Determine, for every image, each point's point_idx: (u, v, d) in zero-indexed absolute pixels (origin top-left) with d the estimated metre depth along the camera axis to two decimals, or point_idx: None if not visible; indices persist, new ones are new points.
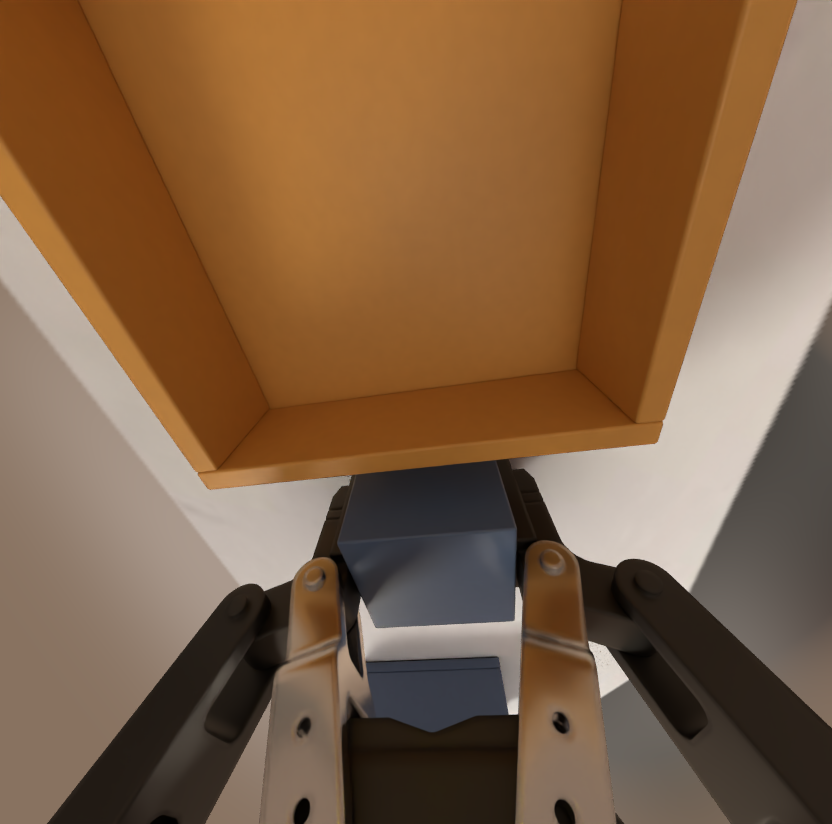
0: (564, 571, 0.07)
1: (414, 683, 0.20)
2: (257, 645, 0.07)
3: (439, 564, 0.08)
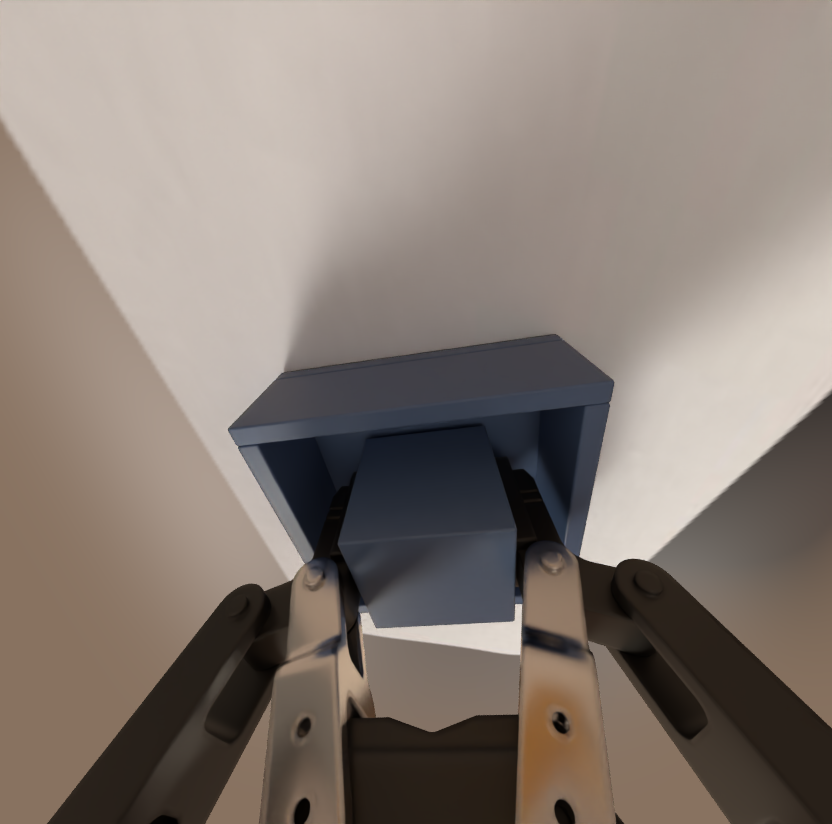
0: (564, 571, 0.07)
1: (381, 372, 0.09)
2: (257, 645, 0.07)
3: (439, 564, 0.08)
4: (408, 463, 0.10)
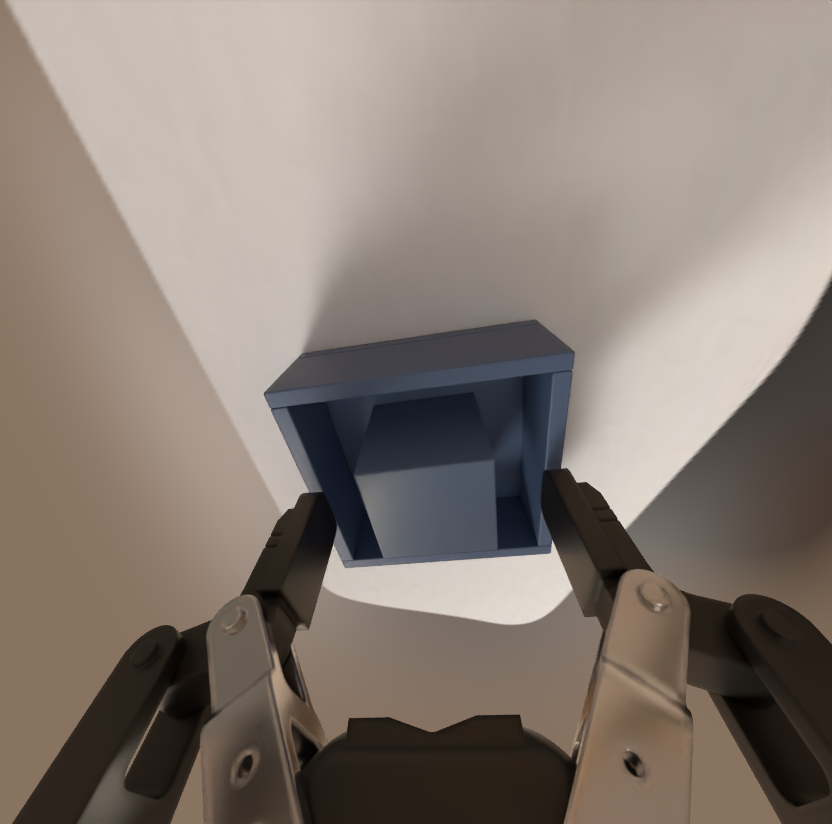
0: (671, 608, 0.06)
1: (388, 351, 0.11)
2: (177, 685, 0.07)
3: (434, 493, 0.10)
4: (410, 420, 0.12)
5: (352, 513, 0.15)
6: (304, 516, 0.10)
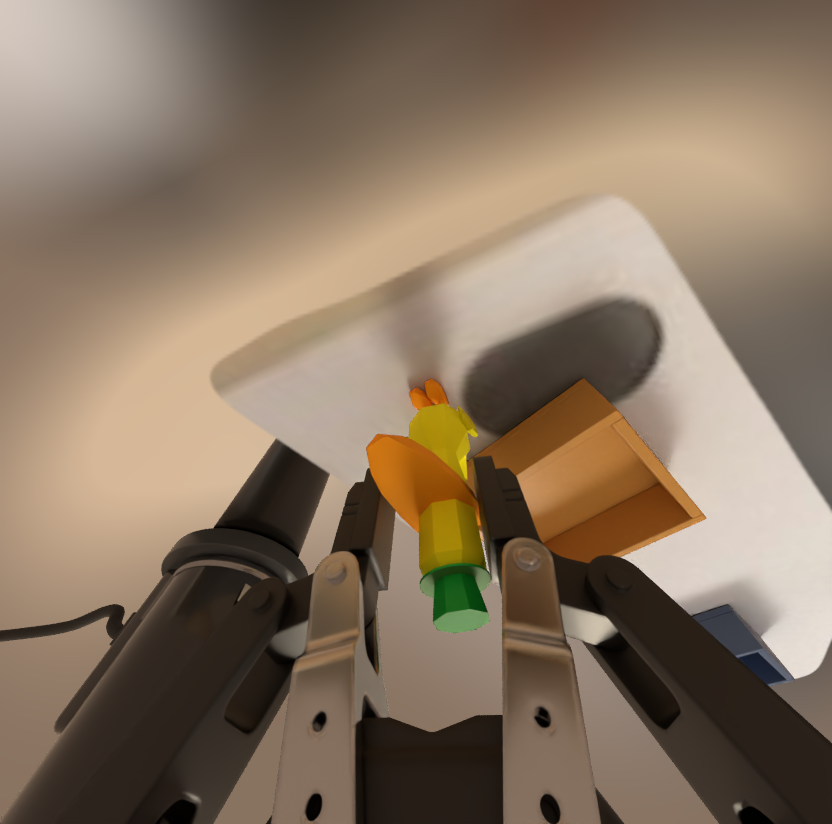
0: (538, 567, 0.07)
1: None
2: (277, 640, 0.07)
3: None
4: None
5: None
6: (376, 487, 0.11)
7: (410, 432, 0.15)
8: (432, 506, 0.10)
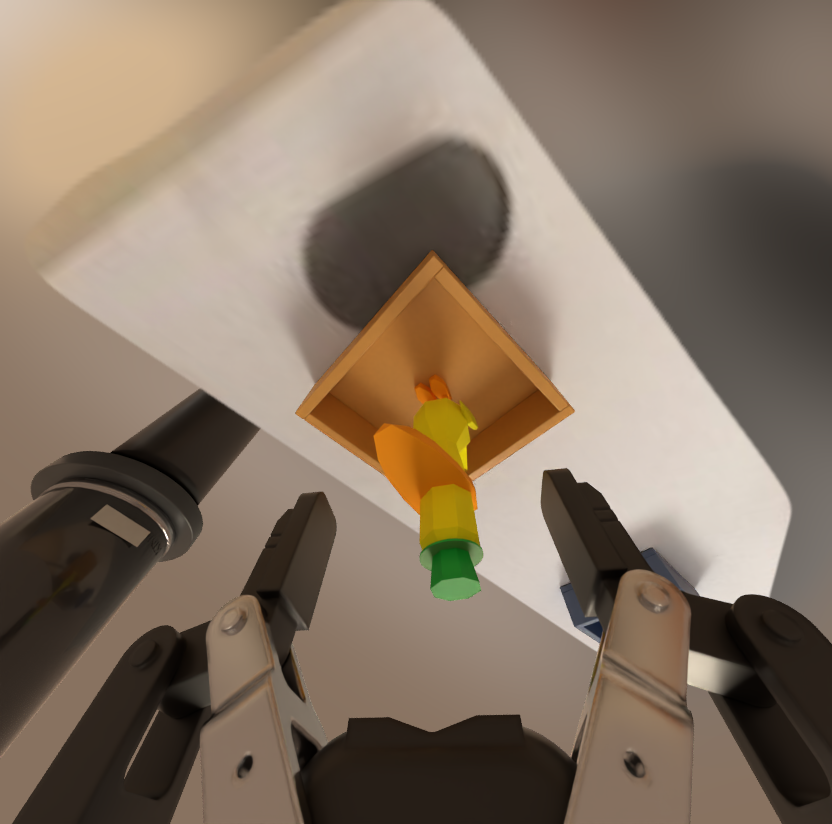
0: (672, 608, 0.06)
1: None
2: (176, 685, 0.07)
3: None
4: None
5: None
6: (304, 516, 0.10)
7: (414, 424, 0.16)
8: (432, 490, 0.11)
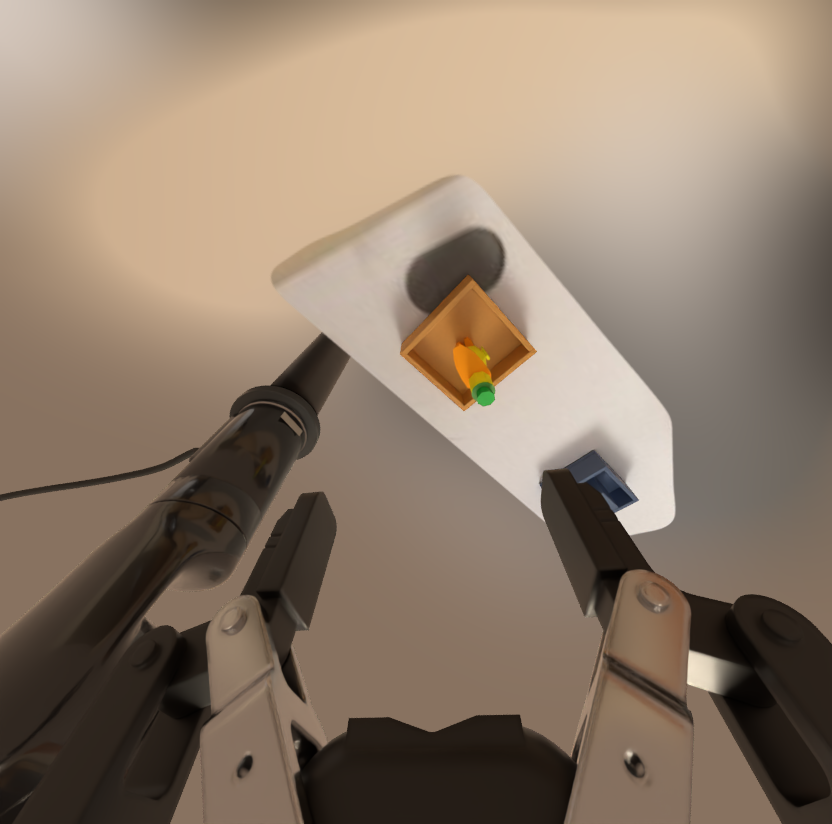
0: (672, 608, 0.06)
1: None
2: (176, 686, 0.07)
3: None
4: None
5: None
6: (304, 516, 0.10)
7: None
8: (474, 373, 0.29)
